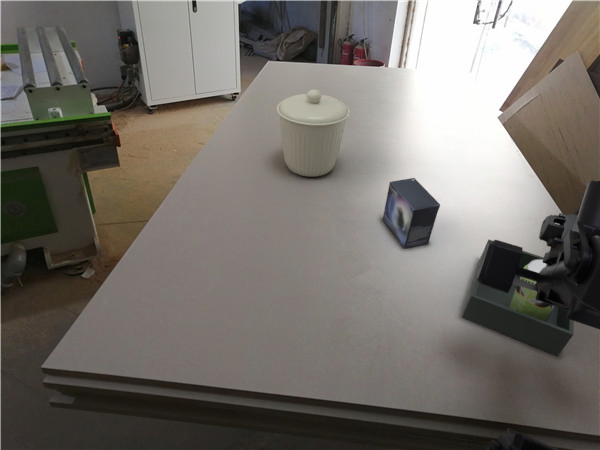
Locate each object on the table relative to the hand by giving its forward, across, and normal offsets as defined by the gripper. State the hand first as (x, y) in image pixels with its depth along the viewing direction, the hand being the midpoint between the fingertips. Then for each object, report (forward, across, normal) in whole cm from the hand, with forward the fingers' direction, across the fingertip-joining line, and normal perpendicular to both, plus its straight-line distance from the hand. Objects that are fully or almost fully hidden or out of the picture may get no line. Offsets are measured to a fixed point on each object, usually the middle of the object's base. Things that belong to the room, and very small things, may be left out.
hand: (541, 287), depth 59 cm
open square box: (+16, 0, +2) cm, 16 cm away
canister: (+34, +53, -16) cm, 65 cm away
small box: (+24, +23, -5) cm, 34 cm away
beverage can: (+13, -2, +4) cm, 14 cm away
